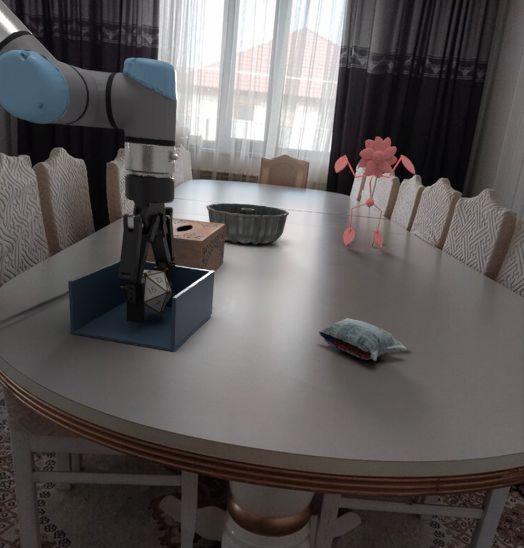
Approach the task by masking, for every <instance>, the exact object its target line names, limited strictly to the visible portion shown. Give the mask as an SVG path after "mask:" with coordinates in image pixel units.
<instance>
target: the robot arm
mask: <svg viewBox="0 0 524 548" xmlns="http://www.w3.org/2000/svg"><path fill="white" fill-rule="evenodd" d="M178 102H179V98H178V89H177V70H176V69H175V67H174V66H173V65H172V64H171V63H169V62H167V61H164V60H159V59H153V58H146V57H128V58H126V59H125V60H124V62H123V69H122V72H107V71H99V70H89V69H85V68H80V67H78V66H75V65H71V64H68V63H66V62H62V61H59V60H58V59H56V58H55V57H54V55H52V53H51V52H50V51H49V50H48V49H47V48H46V47H45V46H44V45H43V44H42V43H41V42H40V40H39V39H38V38H36V37H35V36H34V35H33V32H32V31H30V29H28V28H27V26H26V25H25V24H24V23H23V22H22V21H21V19H19V17H18V16H17V15H16V14H14V12H13V11H12V10H11V9H10V8H9V7H8V5H6V3H4V1H3V0H0V105H1V106H2V108H4V110H5V111H7V113H9V114H10V115H12V116H14V117H15V118H18V119H20V120H24V121H27V122H29V123H33V124H41V125H45V124H46V125H47V124H55V125H56V124H58V125H64V126H71V127H72V126H73V127H74V126H79V127H80V126H81V127H91V128H103V129H114V130H123V131H124V169H125V171H128V173H126V175H125V176H124V196H125V198H126V199H127V200H129V201H132V202H133V203H134V205H133V211H132V214H130V213H124V214H123V216H122V225H123V226H122V227H123V232H122V240H121V250H120V259H119V260H120V267H119V276H118V279H119V280H120V281H122V282H126V298H127V321H131V322H137V323H144V297H145V283H143V282H142V277H143V273H144V268H145V263H146V259H147V254H148V250H149V245H150V243H151V246H152V250H153V254H154V258H155V262H156V266H158V267H154V268H153V270H156V271H164V269H165V268H167V272H165V274H166V277H167V279H168V282H169V277H170V269H169V268H175V263H173V262H174V261H175V248H174V235H173V223H172V219H173V218H174V208H173V207H172V206H165V205H166V204H171V203H172V202H174V200H175V189H176V188H175V187H176V185H175V184H176V180H175V179H174V177H173V176H171V175H173V174H174V173H175V172H176V161H177V160H178V159H179V156H178V154H177V153H176V135H177V133H176V132H177V111H178ZM169 253H170V254H169ZM167 305H169V301H168V303H167V304H166V306H167Z"/></svg>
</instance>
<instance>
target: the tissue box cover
mask: <svg viewBox="0 0 524 548" xmlns="http://www.w3.org/2000/svg"><path fill="white" fill-rule="evenodd" d="M172 223H173V235H174V248H175V261H174V262H173V263H175V265H176V266H183V267H190V268H196V269H203V270H210V271H214V273H215V272H216V271H217V270H218V269H219V268H220V267H221V266H222V265H223V263H224V254H225V241H226V240H225V227H226V224H221V223H212V222H209V221H203V220H193V219H188V218H187V219H185V218H177V217H173V219H172ZM169 254H170V253H169ZM146 261H149V262H155V258H154V254H153V250H152V246H151V243H150V245H149V250H148V254H147V259H146Z"/></svg>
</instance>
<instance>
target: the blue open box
mask: <svg viewBox="0 0 524 548" xmlns="http://www.w3.org/2000/svg"><path fill="white" fill-rule="evenodd" d="M119 267H120V259H119V260H117V261H113V262H112V263H109V264H107V265H104V266H102V267H99V268H97V269H95V270H92V271H89V272H87V273H84V274H82V275H80V276H78V277H75V278H73V279H70V280H68V281H67V282H68V303H69V321H70V322H69V323H70V325H69V326H70V335H71V334H72V335H76V336H83V337H87V338H94V339H99V340H105V341H111V342H116V343H121V344H122V343H123V344H127V345H133V346H138V347H146V348H151V349H156V350H162V351H167V352H174V353H175V352H176V351H177V350H178V349H179V348H180V347H181V346H182V345H183V344H184V343H186V342H187V341H188V340H189V339H190V338H191V337H192V336H194V334H195V333H196V332H197V331H198V330H199V329H200V328H201V327H202V326H203V325H204V324H205V323H207V321H209V320H210V319H211V317H212V315H213V304H214V303H213V301H214V285H215V272H214V271H210V270H203V269H196V268H190V267H183V266H176V265H175V268H169V269H170V277H169V285H170V288H171V291H172V293H176V294H177V295H175V296H173V295H172V297H171V298H170V300H169V305H167V306H165V307H164V309H163V310H162V312H161V313H162V315H163V318H162V317H160V315H159V313H149V312H144V323H137V322H131V321H127V298H126V290H125V289H121V288H120V287H121V286H124V287H126V282H122V281H120V280H119V279H118V276H119ZM154 267H158V266H156V262H149V261H146V263H145V268H144V269H147V270H153V268H154Z"/></svg>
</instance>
